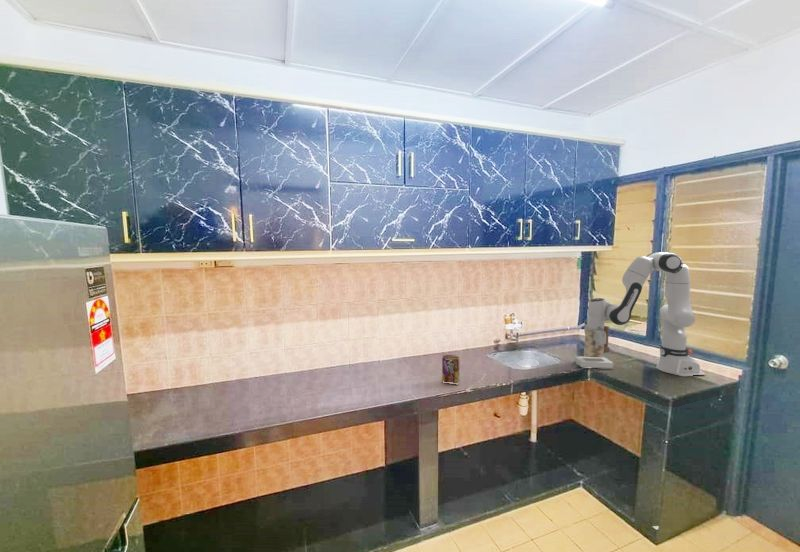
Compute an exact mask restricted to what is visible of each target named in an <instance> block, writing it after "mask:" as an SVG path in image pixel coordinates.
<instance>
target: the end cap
mask: <svg viewBox="0 0 800 552" xmlns="http://www.w3.org/2000/svg"><path fill="white" fill-rule="evenodd" d="M575 362H576V363H577V364H578V365H580V366H581V367H592V368H601V369H600V370H614V362H613V361H611V360H610V359H608V358H607V357H606V356H605V357H604V356H603V358H599V357H585V356H584V355H583V356H580V355H579V356H577V355H575V356H574V363H575ZM576 363H575V364H576ZM577 364H576V365H577ZM578 365H577V366H578Z"/></svg>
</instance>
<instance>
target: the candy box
mask: <svg viewBox="0 0 800 552" xmlns="http://www.w3.org/2000/svg"><path fill="white" fill-rule="evenodd" d="M460 359H461V358H460V355H454V354H442V358H441V360H442V362H441V363H442V364H441V365H442V366H441V369H442V374H441V375H442V376H441V377H442V378H441V381H444V382H453V383H458V382H459V383H460Z"/></svg>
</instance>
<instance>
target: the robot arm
mask: <svg viewBox="0 0 800 552" xmlns="http://www.w3.org/2000/svg"><path fill="white" fill-rule="evenodd" d="M654 271H656V272H664V274H665V282H664V283H665V284H664V296H665V299H666V304H664V305H662V306H661V307H660V309H659V314H660V318H661V319H660V320H661V328H662V329H661V330H662V335H661V345H660V346H659V347H660V349H659V353H660V354H659V359H658V362H657V364H656V366H655V368H656V369H657V370H658V371H661V372H664V373H668V374H672V375H676V376H679V377H694V376H693V375H704V376H706V373H705V372H704V371H703V370H701V367H700V363H699V362H698V361H697V360H696V359H694V358H693V357H691V356H690V355H692V354H694V351H693V350H692V349H687V348H686V347H687V338H688V335H687V332H686V328H689V327H692V326H693V325H694V323H695V321H696V318H695V315H694V312H693V307H692V302H691V296H690V295H691V274H690V268H689V266H688V265H687V264H684V263H683V261H682V258H681V257H680V256H679V255H678V254H676V253H673V252H667V251H666V252H664V251H661V252H657V251H656V252H652V253H651V252H650V253H649V254H647V255H646V256H641V255H640V256H637V257H636V258H635V259H634V260H633V261H632V262H631V263H630V265H628V267H627V269H626V270H625V272H624V274H623V276H622V278H621V279H622V280H621V281H622V285H623V286H624V287H625V295H624V296H623V298H622V300H621V302H620V304H619V305H617V304H614V303H611V302H609V301H607V300H605V299H604V298H601V297H596V298H593V299H591V300H590V301H589V304H588V310H587V311H588V317H587V320H584V322H583V324H584V331H583V332H584V334H585V331H586V330H591V331H593V332H594V334H593V340H594V341H595V345H594V348H598V345H599V344H606V332H605V331H604V326H605V320H609V321H610V322H612V323H613V324H615V325H618V326H623V325H626V324H627V323H629V322H630V320H631V318H632V312H633V309H634V307H635V305H636V303H637V301H638V299H639V297H640V295H641V293H642V290H643V287H644V284H645V283H646V281H647V279H648V277H650V276H649V275H651V273H652V272H654Z"/></svg>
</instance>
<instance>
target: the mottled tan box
mask: <svg viewBox="0 0 800 552" xmlns="http://www.w3.org/2000/svg"><path fill="white" fill-rule="evenodd" d="M593 334H594V332H593V331H591V330H586V331H585V333H584V347H583V357H599V358H603V357H604V353H605V352H604V344H599V345H598V348H594V345H595V341H594V340H593Z"/></svg>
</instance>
